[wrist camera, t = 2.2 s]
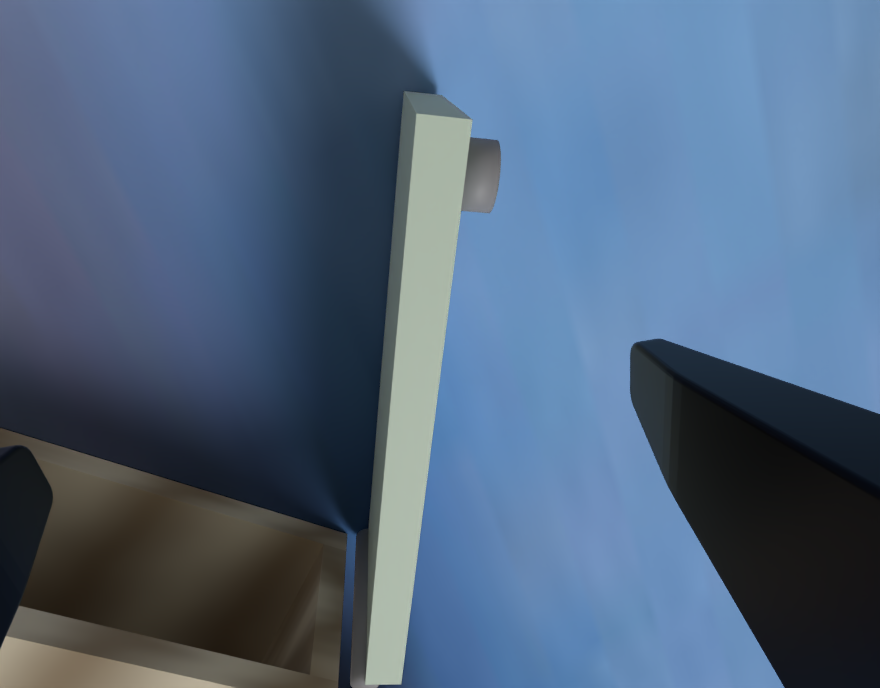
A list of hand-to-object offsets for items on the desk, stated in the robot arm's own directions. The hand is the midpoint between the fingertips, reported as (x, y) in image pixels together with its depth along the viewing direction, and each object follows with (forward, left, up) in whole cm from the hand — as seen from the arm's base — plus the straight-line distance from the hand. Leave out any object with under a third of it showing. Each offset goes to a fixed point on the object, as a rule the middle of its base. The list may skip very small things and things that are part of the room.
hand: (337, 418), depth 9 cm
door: (-4, +4, -13) cm, 14 cm away
